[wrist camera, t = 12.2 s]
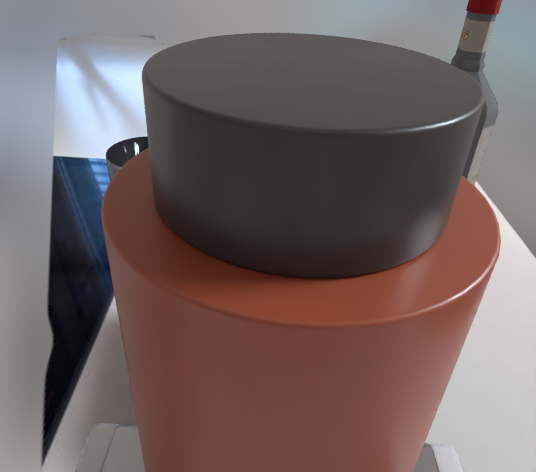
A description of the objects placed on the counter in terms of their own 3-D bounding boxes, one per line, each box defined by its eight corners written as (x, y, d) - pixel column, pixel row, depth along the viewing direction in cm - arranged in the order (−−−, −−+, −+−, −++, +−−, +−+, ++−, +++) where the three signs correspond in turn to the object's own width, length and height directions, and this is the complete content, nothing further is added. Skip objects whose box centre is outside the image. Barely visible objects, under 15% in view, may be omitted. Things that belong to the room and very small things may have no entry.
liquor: (400, 219, 68) (458, -16, 51) (394, 189, 76) (442, -25, 59) (465, 226, 68) (545, -10, 51) (452, 195, 75) (518, -20, 58)
